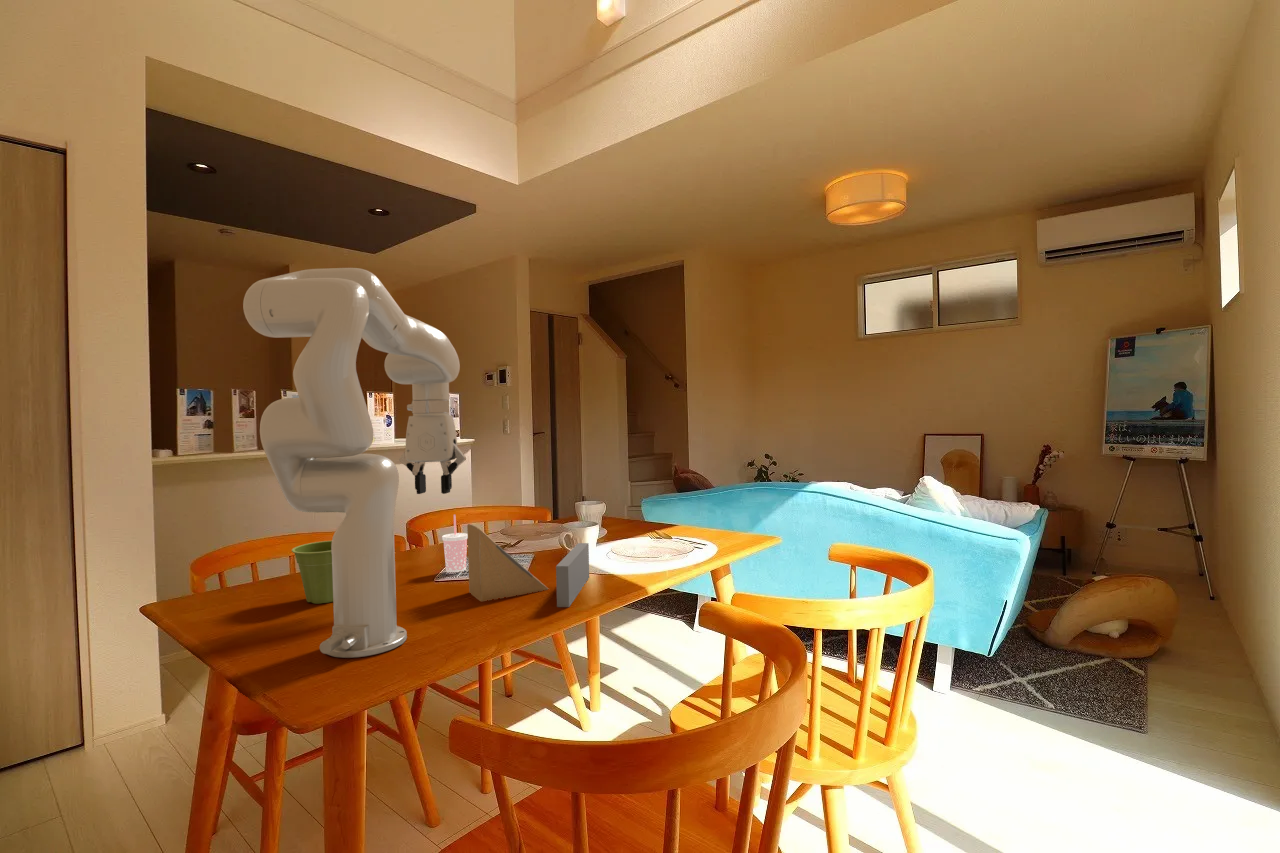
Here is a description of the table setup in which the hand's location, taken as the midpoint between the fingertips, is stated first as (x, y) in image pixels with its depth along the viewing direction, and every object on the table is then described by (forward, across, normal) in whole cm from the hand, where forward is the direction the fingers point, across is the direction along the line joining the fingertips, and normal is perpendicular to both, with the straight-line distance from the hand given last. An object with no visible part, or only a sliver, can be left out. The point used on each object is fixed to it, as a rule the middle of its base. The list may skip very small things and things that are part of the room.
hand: (433, 492), depth 135 cm
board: (+21, +30, 0) cm, 37 cm away
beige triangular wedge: (+22, +16, 0) cm, 27 cm away
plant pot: (+22, -21, -7) cm, 31 cm away
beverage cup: (+22, -2, +16) cm, 27 cm away
